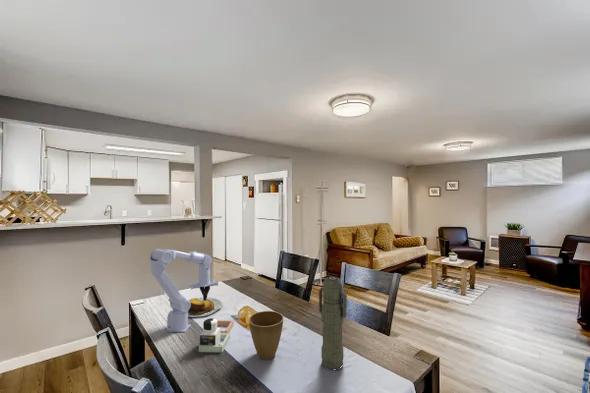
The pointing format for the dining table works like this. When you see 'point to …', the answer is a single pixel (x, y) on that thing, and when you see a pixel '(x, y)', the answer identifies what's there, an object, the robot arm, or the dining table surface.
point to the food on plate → (203, 306)
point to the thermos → (332, 321)
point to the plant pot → (266, 332)
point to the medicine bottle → (210, 333)
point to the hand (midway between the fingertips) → (204, 299)
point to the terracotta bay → (225, 323)
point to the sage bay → (216, 347)
